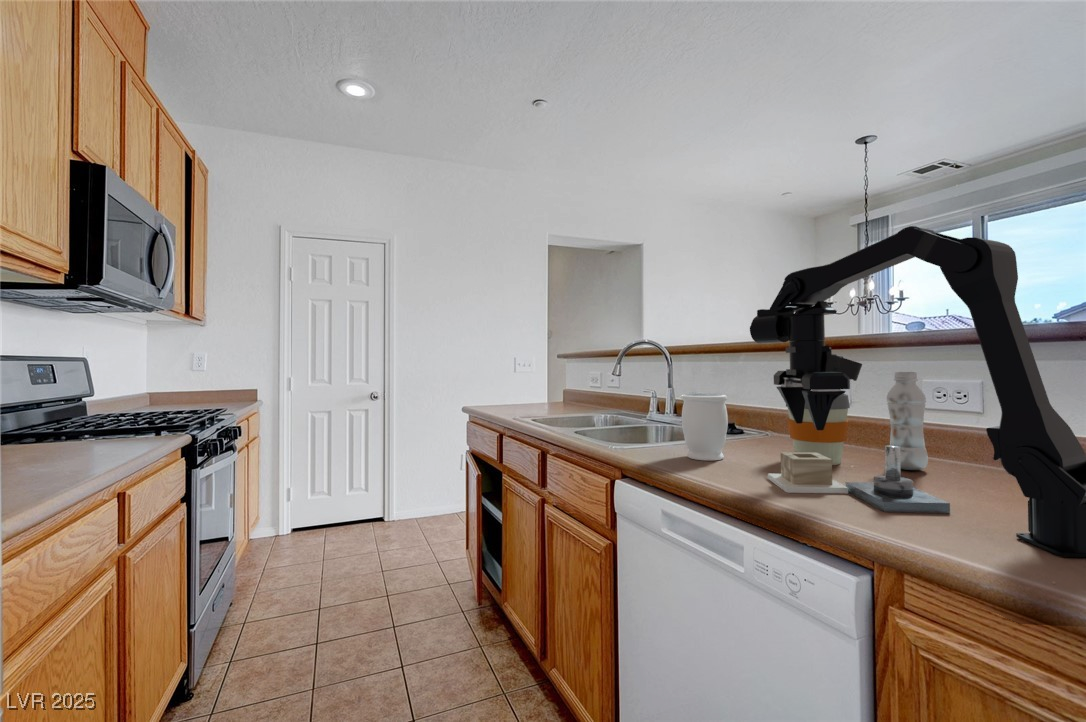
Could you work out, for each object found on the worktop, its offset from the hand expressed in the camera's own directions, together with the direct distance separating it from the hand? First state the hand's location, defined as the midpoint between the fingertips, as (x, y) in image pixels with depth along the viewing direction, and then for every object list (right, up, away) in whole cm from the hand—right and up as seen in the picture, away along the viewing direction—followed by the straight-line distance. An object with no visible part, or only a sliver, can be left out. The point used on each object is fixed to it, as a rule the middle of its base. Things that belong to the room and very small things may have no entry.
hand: (808, 426), depth 88 cm
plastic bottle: (+26, -11, +11) cm, 30 cm away
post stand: (+8, -11, -10) cm, 17 cm away
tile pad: (0, -11, 0) cm, 11 cm away
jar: (-10, -11, +27) cm, 31 cm away
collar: (0, -10, 0) cm, 10 cm away
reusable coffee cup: (+13, -11, +21) cm, 27 cm away
